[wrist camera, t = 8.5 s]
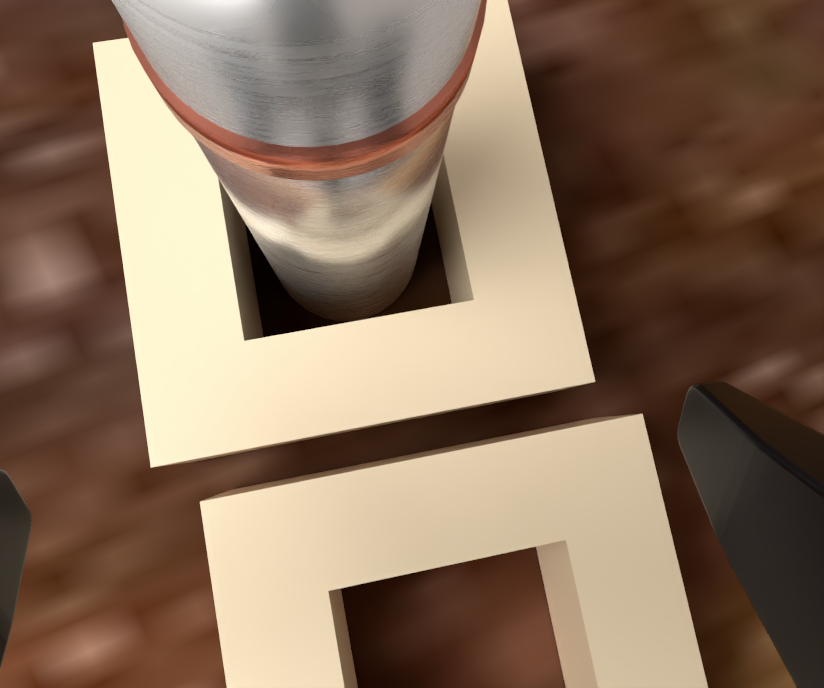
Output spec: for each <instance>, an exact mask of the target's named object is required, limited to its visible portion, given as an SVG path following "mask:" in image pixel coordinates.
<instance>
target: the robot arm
mask: <svg viewBox="0 0 824 688" xmlns="http://www.w3.org/2000/svg"><path fill="white" fill-rule="evenodd" d="M677 435H678V441H679V445H680V448H681V450H682V453H683V455H684V458H685V460H686V463H687V465H688V468H689V470H690V472H691V475H692V477H693V480H694V482H695V485H696V487H697V490H698V492H699V495H700V497H701V500H702V502H703V505H704V507H705V510H706V512H707V514H708V517H709V519H710V522H711V524H712V527H713V529H714V531H715V534H716V536H717V538H718V540H719V543H720V545H721V547H722V549H723V551H724V552H725V554H726V556H727V558H728V560H729V562H730V564H731V566H732V568H733V570H734V571H735V573H736V575H737V577H738V579H739V581H740V583H741V584H742V586H743V588H744V590H745V592H746V594H747V596H748V597H749V599H750V601H751V603H752V605H753V607H754V609H755V611H756V612H757V614H758V616H759V618H760V620H761V622H762V624H763V625H764V627H765V629H766V631H767V633H768V635H769V637H770V638H771V640H772V642H773V644H774V646H775V648H776V650H777V651H778V653H779V655H780V657H781V659H782V661H783V663H784V664H785V666H786V668H787V670H788V672H789V674H790V676H791V678H792V679H793V681H794V683H795V685H796V687H797V688H824V434H822V433H820V432H818V431H816V430H814V429H812V428H810V427H809V426H807V425H805V424H803V423H801V422H799V421H797V420H795V419H793V418H792V417H790V416H788V415H786V414H784V413H782V412H780V411H778V410H776V409H775V408H773V407H771V406H769V405H767V404H765V403H763V402H761V401H759V400H758V399H756V398H754V397H752V396H750V395H748V394H746V393H744V392H742V391H741V390H739V389H737V388H735V387H733V386H731V385H729V384H727V383H725V382H722V381H714V382H705V383H697V384H694V385H692V386H691V387H690V388H689V389H688V392H687V395H686V398H685V402H684V406H683V409H682V413H681V417H680V420H679V424H678V429H677ZM31 526H32V520H31V514H30V510H29V508H28V506H27V504H26V503H25V501H24V499H23V498H22V496H21V494H20V493H19V491H18V489H17V488H16V486H15V484H14V483H13V481H12V479H11V478H10V476H9V475H8V473H7V472H6V471H4V470H3V469H1V468H0V667H1V664H2V661H3V657H4V654H5V651H6V647H7V644H8V640H9V635H10V631H11V627H12V623H13V618H14V613H15V608H16V603H17V597H18V592H19V587H20V582H21V577H22V572H23V567H24V562H25V557H26V552H27V547H28V542H29V537H30V532H31Z"/></svg>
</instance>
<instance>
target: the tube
mask: <svg viewBox="0 0 824 688" xmlns="http://www.w3.org/2000/svg"><path fill="white" fill-rule="evenodd" d="M112 1H113V3H114V5H115V6H116V8H117V10H118V11H119V13H120V15H121V16H122V19H123V23H124V28H125V31H126V33H127V36H128V39H129V41H130V44H131V47H132V49H133V51H134V53H135V55H136V57H137V58H138V60H139V62H140V64H141V66H142V67H143V69H144V71H145V73H146V74H147V76H148V77H149V79H150V81H151V82H152V84H153V85H154V87H155V89H156V90H157V92H158V93H159V95H160V97H161V98H162V100H163V101H164V103H165V104H166V106H167V107H168V108H169V110H170V111H171V112H172V114H173V115H174V116H175V118H176V119H177V120H178V122H179V123H180V124H181V125H182V126H183V127H184V128H185V129H186V130H187V131H188V132H189V133H190V134H191V135H192V136H193V137H194V138H195V140H196V142H197V143H198V145H199V147H200V148H201V150H202V152H203V153H204V155H205V157H206V158H207V160H208V162H209V163H210V165H211V167H212V168H213V170H214V172H215V173H216V175H217V177H218V178H219V180H220V182H221V183H222V185H223V187H224V188H225V190H226V192H227V193H228V195H229V197H230V198H231V200H232V202H233V203H234V205H235V207H236V208H237V210H238V212H239V213H240V215H241V217H242V218H243V220H244V222H245V223H246V225H247V227H248V228H249V230H250V232H251V233H252V235H253V237H254V239H255V240H256V242H257V244H258V245H259V247H260V249H261V250H262V252H263V254H264V255H265V257H266V259H267V260H268V262H269V264H270V265H271V267H272V269H273V270H274V272H275V274H276V275H277V277H278V279H279V280H280V282H281V284H282V285H283V287H284V289H285V290H286V291H287V293H288V294H289V295H290V296H291V297H292V298H293V299H294V300H295V301H296V302H297V303H298V304H299V305H300V306H302V307H303V308H304V309H306V310H308V311H309V312H311V313H313V314H316V315H318V316H320V317H324V318H327V319H332V320H338V321H351V320H359V319H363V318H367V317H370V316H372V315H375V314H377V313H379V312H381V311H383V310H384V309H386V308H387V307H389V306H390V305H391V304H392V303H394V302H395V301H396V300H397V299H398V298H399V297H400V295H401V294H402V293H403V292H404V290H405V289H406V287H407V285H408V284H409V282H410V279H411V277H412V275H413V271H414V268H415V264H416V260H417V256H418V252H419V248H420V244H421V240H422V236H423V232H424V228H425V224H426V220H427V216H428V212H429V208H430V204H431V200H432V196H433V192H434V188H435V184H436V180H437V176H438V172H439V168H440V164H441V160H442V156H443V152H444V148H445V144H446V140H447V136H448V132H449V128H450V124H451V120H452V116H453V112H454V108H455V105H456V103H457V102H458V100H459V98H460V97H461V95H462V92H463V90H464V88H465V86H466V83H467V81H468V79H469V76H470V72H471V69H472V65H473V62H474V58H475V54H476V51H477V47H478V43H479V39H480V36H481V32H482V28H483V25H484V19H485V12H486V4H487V0H112Z"/></svg>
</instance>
